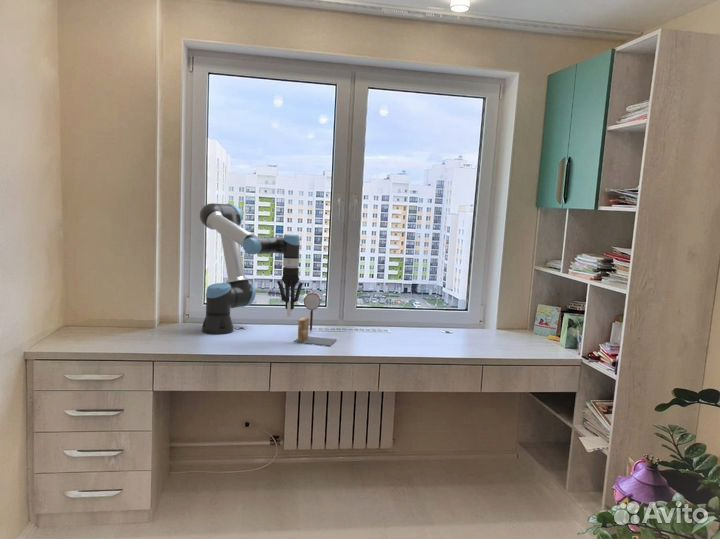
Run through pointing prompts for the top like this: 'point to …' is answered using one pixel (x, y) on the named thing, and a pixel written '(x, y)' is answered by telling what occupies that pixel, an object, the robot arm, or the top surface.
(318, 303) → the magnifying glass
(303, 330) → the wooden block
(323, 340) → the mat
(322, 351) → the top surface
